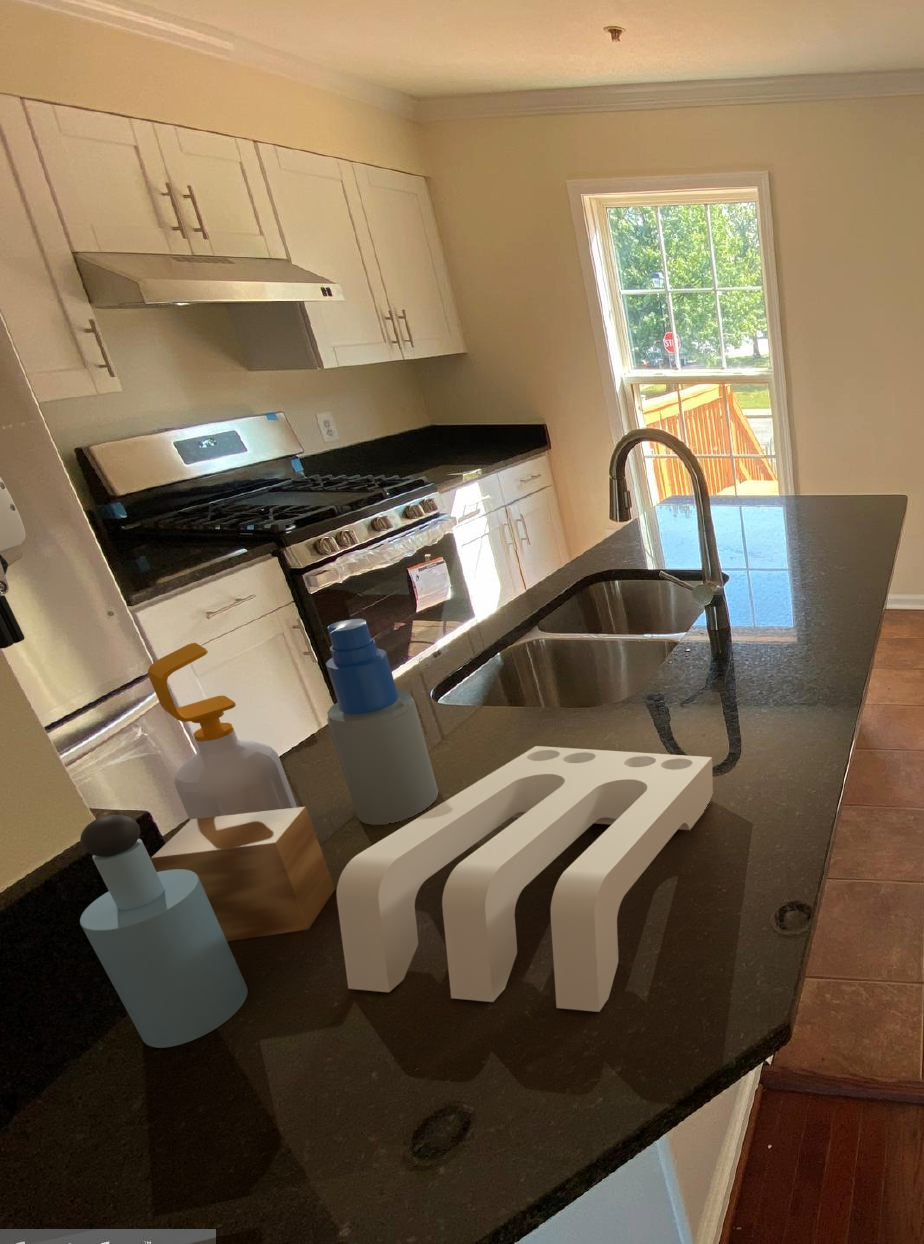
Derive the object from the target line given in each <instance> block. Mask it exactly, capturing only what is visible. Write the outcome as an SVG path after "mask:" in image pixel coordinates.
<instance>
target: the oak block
mask: <svg viewBox="0 0 924 1244" xmlns="http://www.w3.org/2000/svg"><path fill="white" fill-rule="evenodd" d="M150 859H151V861H152V863H153V865H154V868H155V870H156V872H160V871H166V870H175V869H184V870H190V871H192V872H194V873H196V874H197V875H198V877H199V879H200V882H201V884H202V886H203V888H204V891H205V893H206V895H207V898H208V900H209V902H210V904H211V907H212V909H213V911H214V913H215V916H216V918H217V920H218V922H219V925H220V927H221V929H222V932H223V934H224V936H225V938H226V941H227V943H228V942H233V941H234V942H235V941H241V940H246V939H247V940H248V939H254V938H261V937H268V936H275V935H281V934H288V933H296V932H301V931H309V929H310V928H311V927H312V925H313V924H314V922H315V921H316V919H317V918H318V916H319V914H320V913H321V911H322V910H323V909H324V907H325V906H326V904H327V902H328V901H329V899H330V897H331V896H332V895H333V894H334V891H335V890H336V888H335V885H334V881H333V879H332V876H331V873H330V871H329V867H328V865H327V862H326V860H325V856H324V853H323V851H322V848H321V845H320V842H319V839H318V836H317V834H316V831H315V828H314V825H313V823H312V819H311V816H310V814H309V811H308V808H307V806H297V807H296V808H287V809H278V810H270V811H261V812H252V813H243V814H234V815H226V816H217V817H208V818H199V819H191V820H189V821H188V822H186V824H185V825H183V827H182V828H180V829H179V830H178V831H177V832H176V833H175V834H174V835H173V836H172V837H171V838H170V839H169V840H168V841H167V842H165V844H164V845H163V846H161V848H160V849H158V851H156V853H154V854H153V855H152V856H150Z"/></svg>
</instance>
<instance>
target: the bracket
mask: <svg viewBox="0 0 924 1244" xmlns="http://www.w3.org/2000/svg"><path fill="white" fill-rule="evenodd" d="M713 780H714V778H713V757H712V756H701V755H699V756H698V755H685V754H683V755H681V754H668V753H653V752H652V753H651V752H638V751H637V752H636V751H620V750H603V749H590V748H589V749H587V748H572V747H558V746H557V747H556V746H542V745H541V746H540V745H535V746H533V747H532V748H530V749H528V750H527V751H525V752H524V753H522V754H520V755H518V756H517V757H515V758H514V759H512V760H511V761H508V762H507V763H505V764H504V765H502V766H501V767H499V768H497V769H495V770H493V771H492V772H490V773H489V774H487V775H486V776H484V777H482V778H481V779H479V780H477V781H476V782H474V783H472V784H471V785H469V786H467V787H466V788H465V789H463V790H461V791H459V792H458V793H456V794H455V795H454V796H451V797H450V798H448V799H446V800H445V801H443V802H441V803H440V804H438V805H436V806H435V807H433V808H432V809H430V810H429V811H427V812H425V813H423V814H421V815H420V816H418V817H417V818H416V819H413V820H412V821H410V822H408V823H407V824H405V825H404V826H401V827H400V828H399V829H397V830H395V831H393V832H392V833H391V834H389V835H387V836H386V837H384V838H382V839H381V840H378V841H377V842H376V843H374V844H373V845H371V846H369V847H367V848H366V849H364V850H362V851H361V852H358V854H356V855H355V856H354V857H352V858H351V859H350V860H349V861H348V862H347V864H346V865H345V867H344V868H343V870H342V871H341V874H340V876H339V879H338V881H337V884H336V893H335V894H336V904H337V912H338V919H339V928H340V935H341V943H342V950H343V951H342V952H343V957H344V966H345V972H346V981H347V989H348V990H359V991H371V992H380V993H390V992H392V990H394V989H395V988H396V987H397V986H398V985H399V984H401V983H402V982H403V981H404V979H405V977H406V974H407V973H408V970H409V968H410V965H411V963H412V961H413V958H414V956H415V953H416V951H417V949H418V946H419V936H418V926H417V917H416V916H417V915H416V908H415V906H416V898H417V895H418V893H419V890H420V888H421V887H422V885H423V884H424V883H425V882H426V881H427V880H428V879H429V878H431V877H432V876H433V875H434V874H437V873H438V872H439V871H440V870H442V869H443V868H444V867H446V866H447V865H448V864H450V863H452V862H453V861H454V860H455V859H456V858H458V857H459V856H460V855H462V854H463V853H464V852H466V851H467V850H468V849H470V848H471V847H473V846H475V844H477V843H478V842H480V841H481V840H482V839H483V838H485V837H486V836H487V835H489V834H490V833H492V832H494V830H495V829H497V828H498V827H500V826H501V825H502V824H504V823H505V822H507V821H508V820H510V819H511V818H515V819H516V820H514V821H513V822H511V823H510V824H509V825H508V826H506V827H504V829H502V830H501V831H499V833H497V834H496V835H495V836H493V837H492V838H490V839H489V840H488V841H487V842H485V843H484V844H482V845H481V846H480V847H479V848H476V850H474V851H473V852H472V853H470V854H469V855H468V856H467V857H465V858H464V859H463V860H461V861H460V862H459V863H458V864H456V866H455V867H454V868H453V869H452V871H451V872H450V874H449V876H448V878H447V879H446V882H445V885H444V887H443V892H442V898H441V907H442V916H443V917H442V918H443V928H444V938H445V948H446V949H445V950H446V956H447V957H446V959H447V970H448V979H449V989H450V991H449V992H450V998H451V999H457V1000H467V1001H478V1002H489V1003H494V1002H495V1001H496V1000H497V998H498V997H500V995H501V994H502V993H503V992H504V991H505V990H506V987H507V984H508V980H509V978H510V976H511V973H512V970H513V966H514V963H515V960H516V958H517V955H518V944H517V943H518V942H517V927H516V916H515V913H516V906H517V902H518V899H519V897H520V895H521V893H522V891H523V890H524V889H525V887H526V886H528V885H529V884H530V883H531V882H532V881H533V880H535V878H536V877H537V876H539V875H540V874H541V872H543V871H544V870H545V869H546V868H547V867H548V866H549V865H550V864H551V863H552V862H553V861H554V860H556V859H557V858H558V857H559V856H561V854H562V853H563V852H564V851H565V850H566V849H568V848H569V846H571V845H572V844H573V843H574V842H575V841H576V840H577V839H578V838H579V837H580V836H581V835H583V834H584V833H585V832H586V831H587V830H588V829H589V828H591V826H592V825H594V824H599V825H610V826H608V828H606V830H604V832H602V833H601V834H600V835H599V836H598V837H597V838H596V839H595V840H594V841H593V842H592V843H591V845H589V846H588V847H587V848H586V849H585V850H584V851H583V852H582V853H581V854H580V855H579V856H578V857H577V858H576V859H575V860H574V861H573V862H572V863H571V864H570V865H569V866H568V867H567V868H566V869H565V870H563V872H562V874H561V875H560V877H559V878H558V880H557V882H556V885H555V887H554V890H553V894H552V897H551V901H550V927H551V928H550V929H551V941H552V942H551V943H552V959H553V973H554V975H553V976H554V986H555V987H554V991H555V1005H556V1009H562V1010H563V1009H565V1010H573V1011H585V1012H594V1013H595V1012H597V1013H600V1012H601V1010H602V1009H603V1008H604V1006H605V1004H606V1003H607V1001H608V1000H609V998H610V994H611V991H612V987H613V984H614V980H615V975H616V972H617V970H618V969H617V968H618V964H619V945H618V944H619V942H618V915H619V911H620V906H621V904H622V901H623V899H624V897H625V895H626V894H627V893H628V892H629V890H631V888H632V887H633V886H634V884H635V883H636V882H637V881H638V879H639V878H640V877H641V876H642V874H643V873H644V872H645V871H646V869H647V868H649V866H650V864H652V862H653V861H654V859H655V858H656V857H657V855H658V854H660V852H661V851H662V850H663V848H664V847H665V846H666V844H667V843H669V841H670V840H671V839H672V838H673V836H674V835H675V833H676V832H677V831H678V830H684V831H691V829H692V828H693V827H694V826H695V824H696V823H697V822H698V821H699V819H700V818H701V816H702V815H704V813H705V811H706V810H707V809H706V807H707V804H708V803H709V801H710V799H711V797H712V794H714V790H713V789H714V788H713V787H714V785H713V784H714V783H713ZM707 808H708V807H707ZM705 809H706V810H705ZM704 810H705V811H704Z"/></svg>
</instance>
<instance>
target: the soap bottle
mask: <svg viewBox="0 0 924 1244" xmlns="http://www.w3.org/2000/svg"><path fill="white" fill-rule="evenodd" d="M208 653H209V651H208V649H207V648H205V647H203V646H202V645H200V644H198V643H197V642H191V643H189V644H186V645H184V646H183V647H180V648H178V649H176V650H175V651H173V652H171V653H168V654H167V655H164V656H163V657H160V658H158V659H157V660H155V661H153V663H152V664H151V665H149V668H148V669H147V676H148V678H149V680H150V683H151V685H152V688H153V691H154V692H155V693H154V694H155V695H156V698H157V700H158V702H159V704H160V707H161V708H162V709H163V710H164V711H166V712H167V713H168V714H169V715H170V716H172V717H173V718H174V719H176V720H177V721H179V722H182V723H188V722H191V723H193V724H199V726H200V728H199V729H197V730H195V731H194V733H193V738H194V740H195V743H196V746H197V747H198V752H196V753H195V754H193V755H192V756H191V757H189V758H187V760H186V761H185V762H184V763H183V764H182V765H181V766H180V767H179V768H178V770H177V772H176V773H175V777H174V786H175V789H176V792H177V794H178V796H179V799H180V801H181V804H182V805H183V808H184V810H185V812H186V815H187V818H188V819H189V821H190V820H191V819H199V818H208V817H217V816H226V815H234V814H243V813H252V812H261V811H270V810H278V809H287V808H296V807H298V806H297V804H296V800H295V798H294V795H293V792H292V789H291V787H290V786H291V785H290V784H289V780H288V778H287V775H286V772H285V768H284V766H283V764H282V761H281V758H280V755H279V754H278V752H277V751H276V750H275V749H274V748H273V747H272V746H270V745H268V744H265V743H262V742H257V741H253V740H241V739H238V737H237V734H236V732H235V729H234V727H233V725H232V723H230V722H221V720H220V718H221V717H223V716H224V715H225V711H229V710H232V709H233V708H235V707H236V702H235V701H234V700H232V699H231V698H229V697H228V696H226V695H216V696H213V697H209V698H206V699H203V700H200V701H196V702H192V703H189V704H186V705H182V706H179V707H176V704H175V702H174V700H173V697H172V694H171V693H170V690H169V688H168V678H169V677H170V676H171V675H172V674H174V673H175V672H177V671H179V670H180V669H182V668H184V667H186V666H188V665H190V664H192V663H194V662H195V661H197V660H199V659H201V658H203V657H204V656H206V655H207V654H208Z"/></svg>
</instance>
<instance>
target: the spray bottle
mask: <svg viewBox="0 0 924 1244" xmlns="http://www.w3.org/2000/svg"><path fill="white" fill-rule="evenodd" d="M326 629H327V632H328V636H329V639H330V644H331V646H330V647H329V651H330V654H331V658H329V659H328V660H327V661H326V662H325V666H326V670H327V673H328V676H329V679H330V682H331V685H332V688H333V692H334V695H335V699H336V703H334V704H333V705H332V706H330V707H329V709H328V710H327V712H326V715H327V719H326V720H327V721H326V722H327V725H328V729H329V731H330V735H331V738H332V741H333V744H334V747H335V750H336V751H335V752H336V754H337V756H338V760H339V763H340V765H341V766H340V767H341V769H342V773H343V776H344V778H345V781H346V785H347V788H348V791H349V794H350V797H351V800H352V803H353V807H354V810H355V813H356V816H357V819H358V820H359V821H361V822H362V823H363V824H367V825H371V826H385V825H390V824H389V823H391V824H396V823H395V822H397V823H400V822H403V821H405V820H404V819H406V820H408V819H407V818H409V817H412V816H414V815H416V814H418V813H419V812H422V811H423V810H425V809H426V808H427V807H429V806H430V805H431V804H432V803H433V802H434V800H436V798H437V795H438V792H439V789H438V788H439V787H438V785H437V781H436V777H435V774H434V770H433V766H432V762H431V758H430V755H429V751H428V748H427V747H428V746H427V743H426V739H425V736H424V731H423V727H422V724H421V720H420V717H419V713H418V709H417V706H416V705H417V704H416V702H415V699H414V698H413V697H412V695H411V692H409V691H407V690H405V689H400V688H397V687H396V683H395V682H396V681H395V679H394V676H393V671H392V668H391V665H390V661H389V657H388V654H387V651H386V650H384V649H383V648H382V649H381V648H378V646H377V644H376V640H375V638H373V637H371V633H370V631H369V626H368V622H367V620H366V619H364V618H353V619H346V620H339V621H336V622H333V623H331V624H329V625H328V626H327V628H326ZM437 799H438V798H437ZM436 801H437V800H436ZM429 808H430V807H429ZM425 811H426V810H425ZM422 813H423V812H422ZM418 815H419V814H418ZM416 816H417V815H416ZM414 817H415V816H414ZM412 818H413V817H412ZM402 820H403V821H402ZM399 821H400V822H399Z"/></svg>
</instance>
